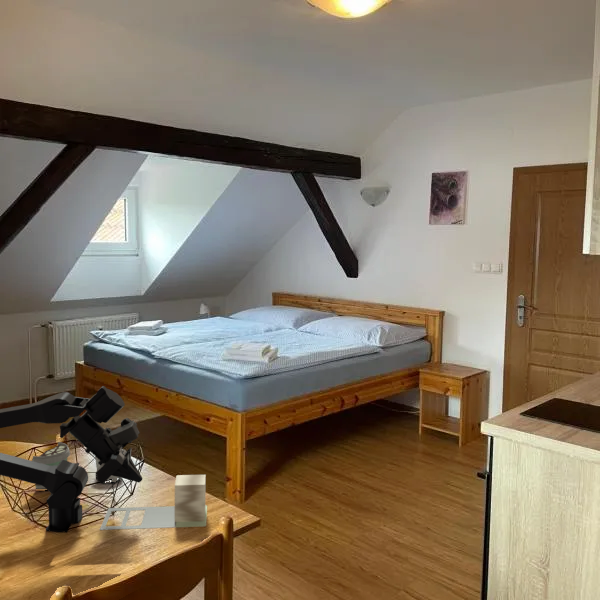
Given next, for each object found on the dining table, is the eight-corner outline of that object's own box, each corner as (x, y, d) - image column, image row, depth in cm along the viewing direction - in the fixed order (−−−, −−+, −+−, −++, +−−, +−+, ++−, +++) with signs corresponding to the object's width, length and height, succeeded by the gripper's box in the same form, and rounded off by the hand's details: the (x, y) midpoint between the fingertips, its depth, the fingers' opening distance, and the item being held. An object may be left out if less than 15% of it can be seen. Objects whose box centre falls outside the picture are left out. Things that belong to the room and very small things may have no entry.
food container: (53, 496, 159) (52, 459, 158) (32, 493, 160) (31, 456, 159) (79, 477, 171) (79, 443, 170) (59, 475, 172) (59, 441, 171)
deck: (99, 536, 139) (99, 529, 139) (108, 514, 150) (108, 508, 150) (205, 532, 142) (206, 526, 142) (207, 510, 153) (207, 505, 153)
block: (174, 522, 143) (174, 485, 142) (176, 510, 149) (176, 475, 148) (204, 521, 144) (204, 484, 143) (205, 509, 150) (205, 474, 149)
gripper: (110, 424, 133) (161, 472, 135) (124, 401, 151) (169, 443, 154) (73, 459, 132) (125, 507, 135) (91, 432, 151) (137, 474, 153)
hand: (141, 480), depth 144 cm, fingers closed
